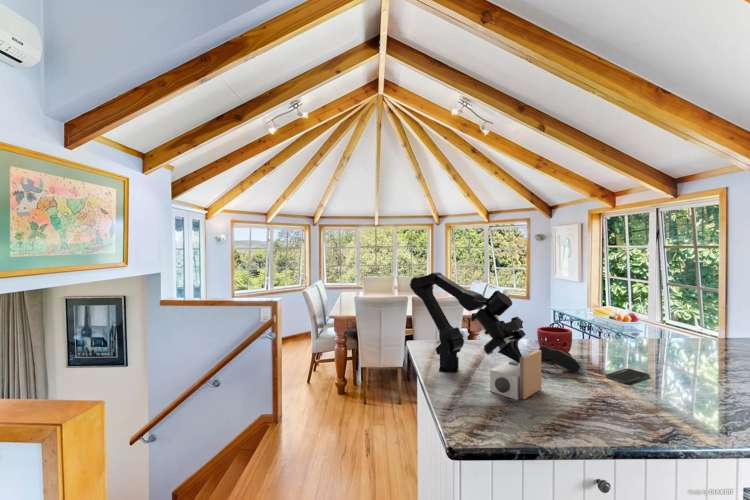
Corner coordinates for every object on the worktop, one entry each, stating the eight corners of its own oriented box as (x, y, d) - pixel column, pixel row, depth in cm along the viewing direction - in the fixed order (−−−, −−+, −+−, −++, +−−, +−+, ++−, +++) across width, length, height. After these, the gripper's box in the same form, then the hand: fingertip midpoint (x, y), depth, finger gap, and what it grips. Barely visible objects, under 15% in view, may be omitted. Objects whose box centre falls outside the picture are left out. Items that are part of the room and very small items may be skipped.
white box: (488, 392, 115) (488, 368, 115) (510, 379, 125) (510, 358, 125) (515, 401, 109) (515, 376, 108) (536, 387, 119) (536, 364, 119)
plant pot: (573, 355, 152) (573, 327, 152) (570, 364, 141) (570, 334, 141) (539, 351, 159) (539, 324, 159) (535, 359, 148) (535, 330, 148)
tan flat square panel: (519, 398, 109) (519, 357, 109) (536, 387, 118) (536, 349, 118) (523, 399, 108) (523, 358, 108) (541, 388, 117) (541, 350, 117)
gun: (573, 388, 132) (586, 365, 131) (531, 365, 135) (544, 342, 134) (570, 385, 135) (583, 362, 134) (529, 363, 137) (542, 340, 136)
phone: (604, 375, 127) (627, 368, 134) (604, 378, 127) (627, 371, 134) (628, 382, 120) (651, 374, 127) (628, 386, 120) (651, 377, 128)
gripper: (492, 313, 112) (527, 356, 104) (519, 306, 125) (552, 343, 117) (470, 333, 118) (502, 375, 110) (499, 325, 131) (529, 362, 123)
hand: (522, 363), depth 115 cm, fingers closed
